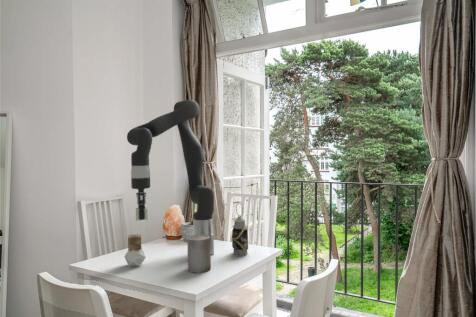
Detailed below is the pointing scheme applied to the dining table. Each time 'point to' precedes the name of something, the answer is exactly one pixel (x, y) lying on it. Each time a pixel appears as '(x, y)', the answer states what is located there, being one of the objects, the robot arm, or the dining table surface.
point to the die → (135, 257)
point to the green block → (138, 214)
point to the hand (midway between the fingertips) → (141, 218)
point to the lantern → (240, 236)
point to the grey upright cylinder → (199, 253)
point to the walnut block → (134, 242)
